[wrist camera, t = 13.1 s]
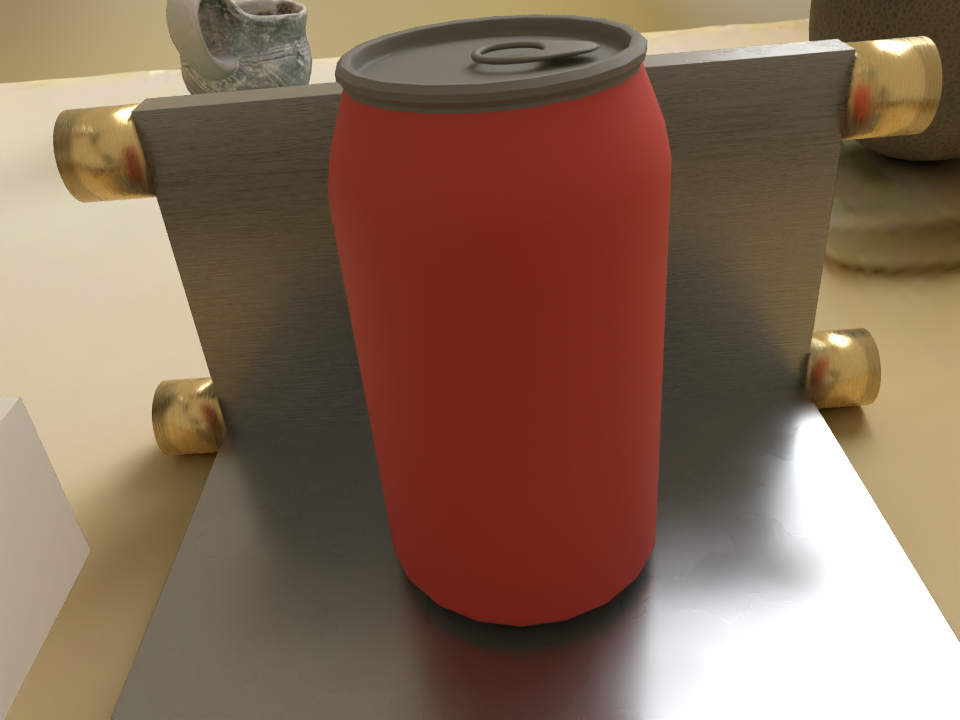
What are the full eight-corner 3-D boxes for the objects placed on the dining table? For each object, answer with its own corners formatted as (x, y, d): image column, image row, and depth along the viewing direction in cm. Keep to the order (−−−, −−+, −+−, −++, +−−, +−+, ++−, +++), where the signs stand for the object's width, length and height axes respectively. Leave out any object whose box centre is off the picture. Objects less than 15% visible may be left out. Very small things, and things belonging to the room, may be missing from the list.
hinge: (-5, 837, 17) (-331, 384, 11) (188, 425, 29) (80, 99, 23) (1114, 772, 16) (1403, 251, 10) (843, 377, 28) (906, 27, 22)
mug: (334, 89, 66) (310, -52, 61) (303, 139, 56) (271, -26, 50) (214, 98, 67) (179, -40, 61) (161, 150, 56) (114, -13, 51)
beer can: (673, 642, 18) (710, 79, 12) (376, 644, 19) (258, 110, 12) (641, 451, 24) (654, -2, 17) (412, 458, 24) (343, 22, 18)
